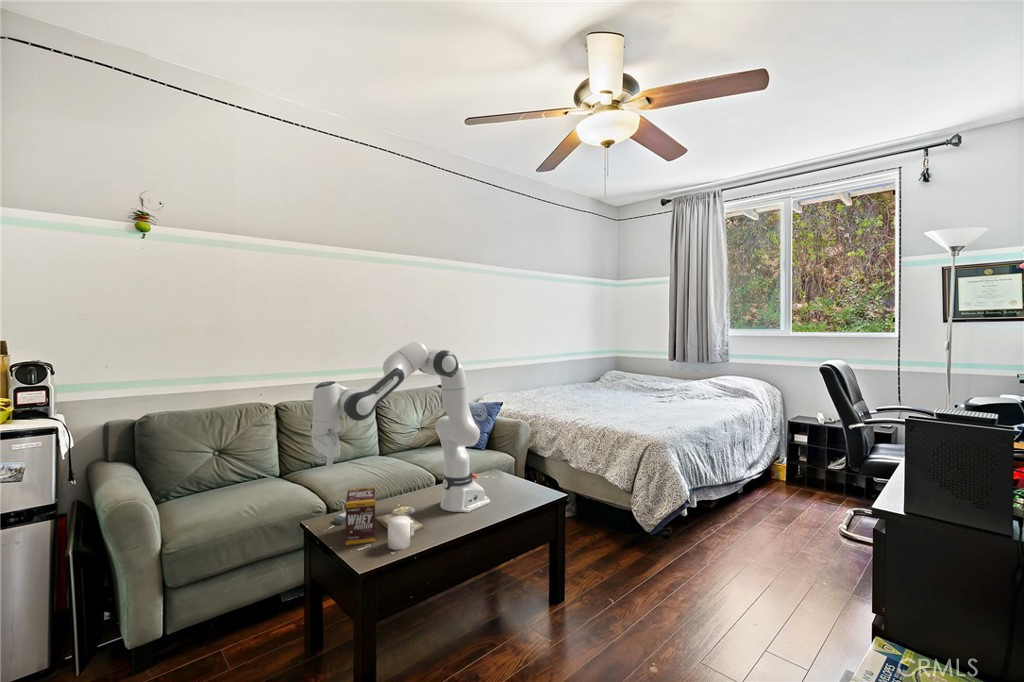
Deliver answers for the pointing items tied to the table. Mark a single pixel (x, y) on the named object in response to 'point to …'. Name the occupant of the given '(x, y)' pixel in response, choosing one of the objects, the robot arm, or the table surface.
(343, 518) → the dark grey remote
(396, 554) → the table surface
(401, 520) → the white mug
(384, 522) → the beige paperback book
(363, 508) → the supplement box
